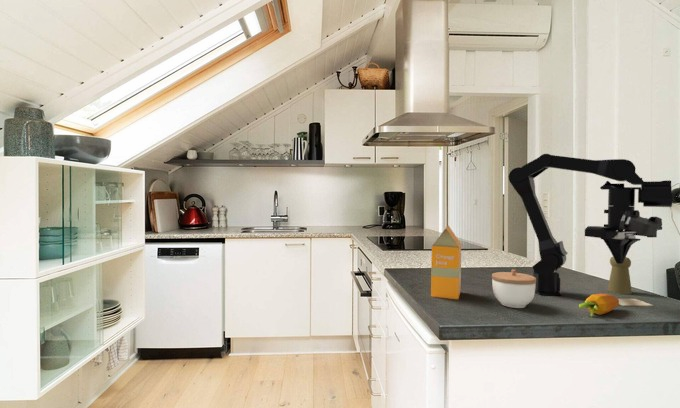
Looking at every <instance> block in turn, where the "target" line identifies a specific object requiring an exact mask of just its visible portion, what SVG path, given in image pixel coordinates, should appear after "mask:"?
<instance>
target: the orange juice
mask: <svg viewBox="0 0 680 408" xmlns="http://www.w3.org/2000/svg"><path fill="white" fill-rule="evenodd" d="M462 245H463V244H462V243H461V242H460V240H459V239H458V237H457V236H456V234H455V233H454V232H453V230H452V229H451V227H450V226H449V225H447V226H446V227H445V229H444V230H443V231H442V232H441V234H440V235H439V236H438V238H437V239H436V241H435V242H434V243H433V244H432V246H431V260H430V261H431V264H430V265H431V267H430V271H431V272H430V285H431V286H430V297H433V298H443V299H451V300H459V298H460V295H461V287H462V286H461V277H462V276H461V275H462Z"/></svg>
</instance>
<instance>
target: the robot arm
mask: <svg viewBox="0 0 680 408" xmlns="http://www.w3.org/2000/svg"><path fill="white" fill-rule="evenodd" d="M550 168H551V169H558V170H564V171H565V170H566V171H572V172H579V173H580V172H581V173H587V174H592V175H593V174H594V175H596V176H600V177H603V178H607V179H610V180H613V181H616V182H620V183H611V182H610V181H609V180H606V182H605V183H604V184H603V185H601V186H600V187H599V188H600V190H602V191H603V190H606V191H607V190H608V192H607V193H608V194H607V195H608V199H607V205H608V206H607V209H603V214H607V224H605V223H604V224H603V226H602V225H601V226H600V225H599V226H598V225H587V227H586V228H585V229H584V237H589V238H590V237H591V238H597V239H600V240H603V241H604V243H605V245H606V246H607V249H609V251H610V253H611V255H612V257H614V259H615V261H616V263H618V264H622V263H623V262H624V259H625V257H627V255H628V253H629V251H630V248H631V247H632V245H634V244H635V243H636V242H640V241H641V240H642V239H641V238H636V236H640V237H646V238H657V235H658V231H660V230H662V229H663V219H662V218H661V217H658V216H650V217H649V218H648V217H642V216H641V215H640V213H641V212H640V211H639V210H638V209H635V205H636V203H635V202H636V200H635V199H636V198H635V197H636V190H638V192H637V203H641V204H643V205H642V206H643V207H644V208H645V207H646V208H648V207H652V208H653V207H654V208H655V207H657V208H658V207H659V208H672V207H673V198H674V197H673V192H672V180H670V179H669V180H659V181H657V180H656V181H644V180H643V177H641V176H640V175H638V174H637V172H636V166H635V163H633V161H631V160H629V159H622V158H618V159H616V158H615V159H600V160H599V159H587V158H579V157H570V156H564V155H563V156H561V155H554V154H550V153H542V154H541V155H539V156H538V157H537V158H535V159H533V160H531V161H529V162H527V163H525V164H524V165H523V166H521V167H515V168H513V169H512V170H510V172H509V174H508V181H509V183H510V185H511V186H512V188H514V190H515V192H516V193H517V194H518V195H519V196H520V198H521V200H522V202H523V206H524V207H525V210H526V213H527V216H528V217H529V218H528V219H529V220H530V222H531V225H532V228H533V231H534V233H535V235H536V238H537V240H538V252H539V256H540V260H539V261H538V262H537V263H535V264H534V265H533V266H532V270H533V271H532V276H534V277H535V278H536V287H535V293H536V294H538V295H540V296H541V295H542V296H546V295H547V296H548V295H549V296H562V295H563V293H562V292H561V278H560V273H559V272H557V271H558V269H560V268H562V266H563V265H564V264H565V263H566V262H567V255H568V254H569V253H568V252H567V251H566V249H565V246H564V243H563V240H560V241H557V240H556V239H555V237H554V236H553V233H552V230H551V229H550V226H549V224H548V221H547V219H546V217H545V214H544V212H543V209H542V206H541V204H540V202H539V199H538V196H537V194H536V185H535V180H534V179H535V178H537V177H538V176H540V175H541V174H542V173H543V172H545V171H546V170H548V169H550ZM621 182H627V183H629V184H630V185H633V186H634V187H632V186H631V187H627V186H626V187H625V183H621ZM636 186H637V187H636Z"/></svg>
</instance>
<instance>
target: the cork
mask: <svg viewBox="0 0 680 408" xmlns="http://www.w3.org/2000/svg"><path fill="white" fill-rule="evenodd" d="M609 264H610V265H611V269H610V275H609V279H608V280H609V281H608V285H607V291H608V292H610V293H613V294H619V295H627V296H628V295H633V291H632V282H631V276H630V269H629V268H630V267H631V265H632V261H631V259H630V258H629V257H627V256H626V257H625V259H624V262H623V263H622V264H618V263H616V261H615V259H614V257H613V256H611V257H610V258H609Z"/></svg>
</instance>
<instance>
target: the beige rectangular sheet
mask: <svg viewBox="0 0 680 408" xmlns="http://www.w3.org/2000/svg"><path fill="white" fill-rule="evenodd" d="M617 299H618V300H619V304H618V305H619V306H622V307H653V306H654V305H653V304H651V303H648V302H645V301H643V300H639V299H637V298H617Z"/></svg>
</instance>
